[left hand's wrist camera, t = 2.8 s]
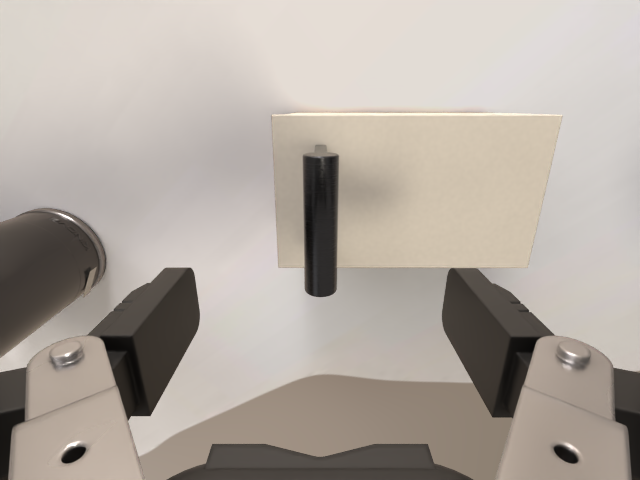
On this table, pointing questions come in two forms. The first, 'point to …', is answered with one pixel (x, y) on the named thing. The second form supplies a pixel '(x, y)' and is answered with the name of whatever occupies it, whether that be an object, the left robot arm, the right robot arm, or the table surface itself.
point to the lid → (408, 191)
